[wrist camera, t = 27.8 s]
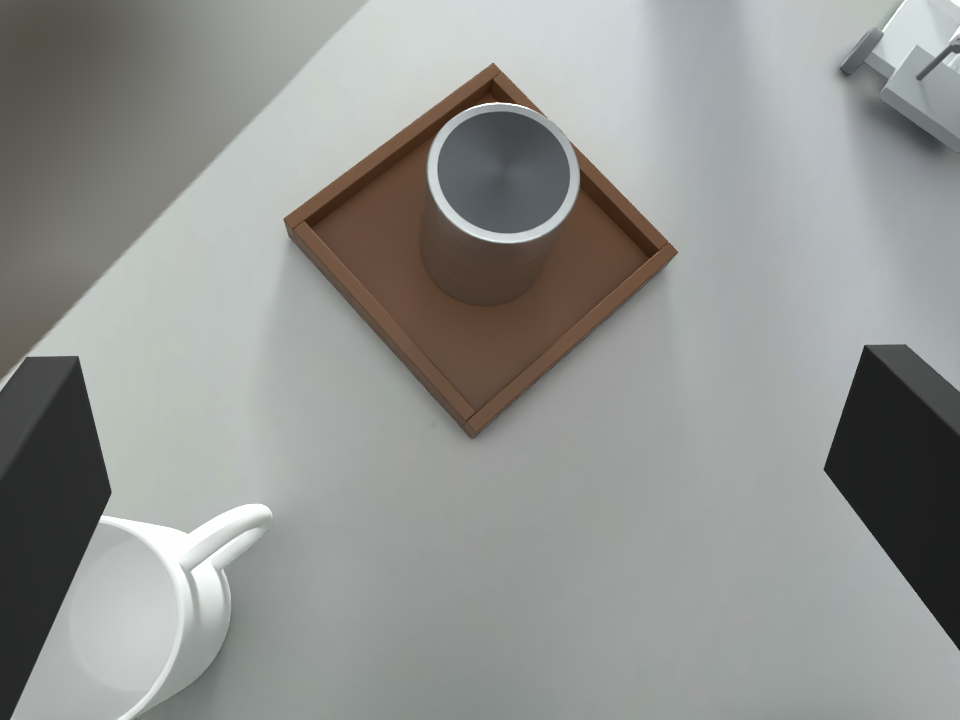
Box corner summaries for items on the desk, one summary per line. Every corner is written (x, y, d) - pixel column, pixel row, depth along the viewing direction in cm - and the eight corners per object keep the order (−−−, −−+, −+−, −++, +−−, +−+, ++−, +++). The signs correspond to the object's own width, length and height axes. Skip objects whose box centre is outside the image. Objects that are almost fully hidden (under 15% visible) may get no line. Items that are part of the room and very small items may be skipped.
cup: (29, 594, 39) (-91, 603, 30) (239, 451, 42) (193, 417, 32) (118, 738, 38) (24, 797, 28) (329, 582, 41) (309, 587, 31)
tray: (288, 235, 45) (282, 218, 43) (488, 84, 49) (493, 61, 47) (471, 439, 44) (476, 432, 41) (665, 266, 47) (678, 251, 45)
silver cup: (393, 238, 45) (393, 160, 36) (487, 165, 47) (508, 74, 38) (479, 331, 44) (499, 273, 36) (570, 253, 46) (612, 180, 37)
